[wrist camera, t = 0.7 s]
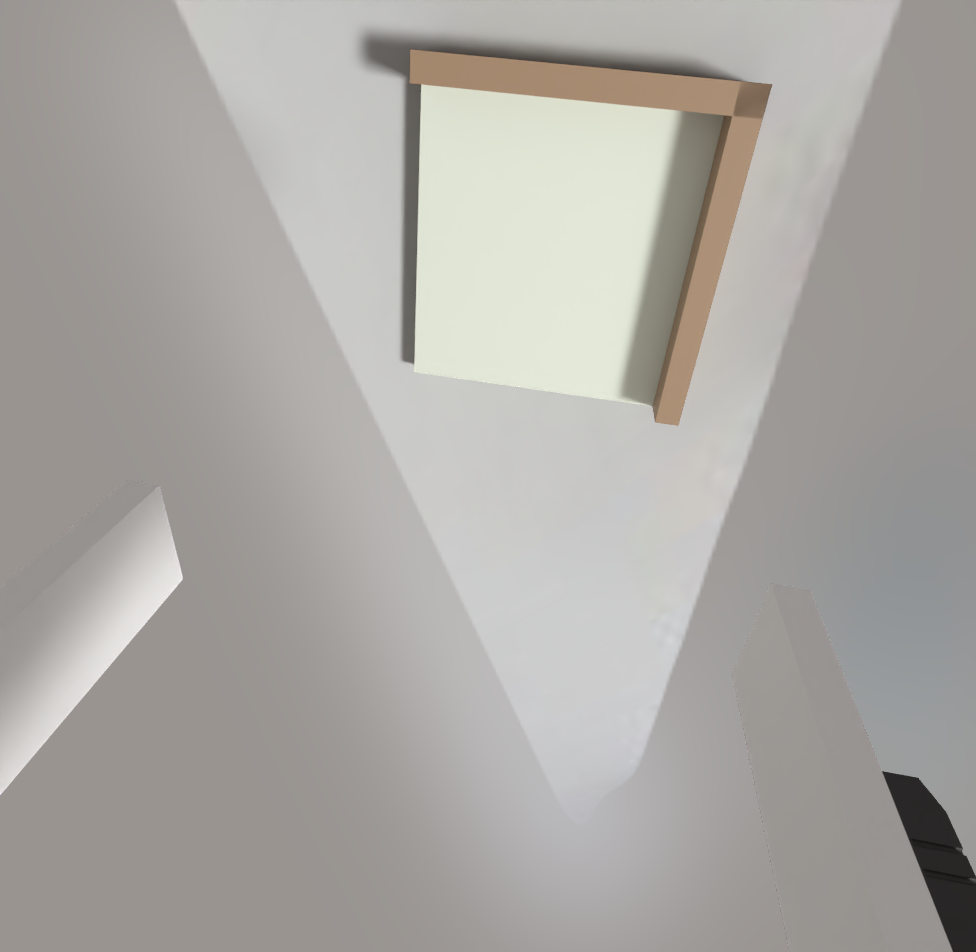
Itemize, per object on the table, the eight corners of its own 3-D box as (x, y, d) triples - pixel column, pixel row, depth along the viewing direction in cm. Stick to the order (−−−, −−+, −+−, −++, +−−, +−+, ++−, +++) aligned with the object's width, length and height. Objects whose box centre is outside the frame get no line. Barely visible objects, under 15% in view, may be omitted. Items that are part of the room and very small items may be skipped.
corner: (427, 53, 29) (410, 49, 26) (756, 85, 27) (772, 84, 25) (418, 365, 37) (404, 385, 34) (672, 401, 35) (678, 425, 33)
